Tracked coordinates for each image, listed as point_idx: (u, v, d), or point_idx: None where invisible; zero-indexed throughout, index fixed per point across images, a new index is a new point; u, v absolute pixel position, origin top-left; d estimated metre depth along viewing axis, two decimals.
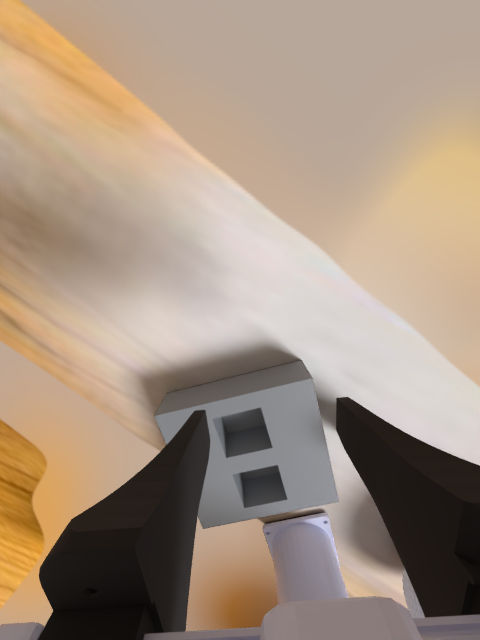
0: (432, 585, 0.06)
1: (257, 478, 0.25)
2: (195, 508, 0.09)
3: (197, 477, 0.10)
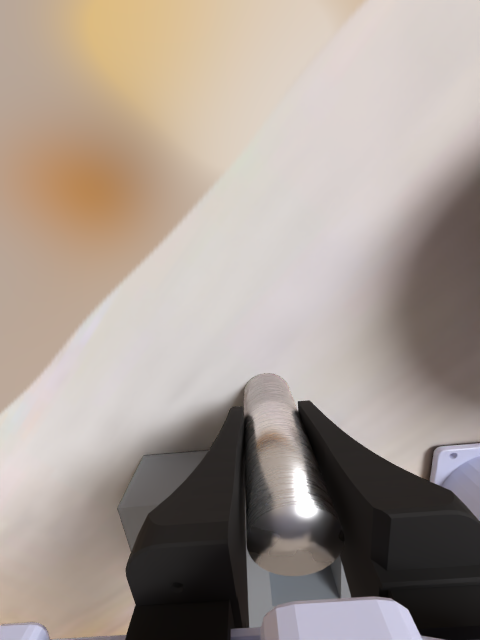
0: (360, 590, 0.07)
1: None
2: (244, 504, 0.09)
3: (243, 473, 0.10)
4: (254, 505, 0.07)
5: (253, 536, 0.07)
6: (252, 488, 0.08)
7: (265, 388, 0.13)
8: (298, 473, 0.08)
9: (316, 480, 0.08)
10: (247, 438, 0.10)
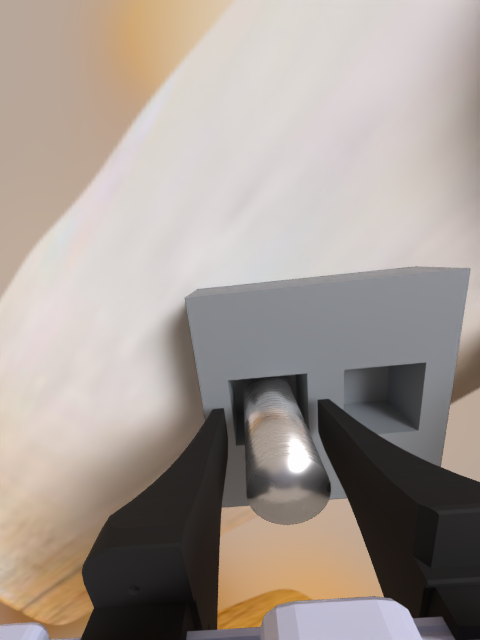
0: (397, 588, 0.06)
1: (390, 380, 0.16)
2: (219, 506, 0.09)
3: (220, 475, 0.10)
4: (255, 458, 0.08)
5: (252, 483, 0.08)
6: (253, 447, 0.09)
7: None
8: (294, 434, 0.09)
9: (309, 442, 0.09)
10: (248, 412, 0.11)
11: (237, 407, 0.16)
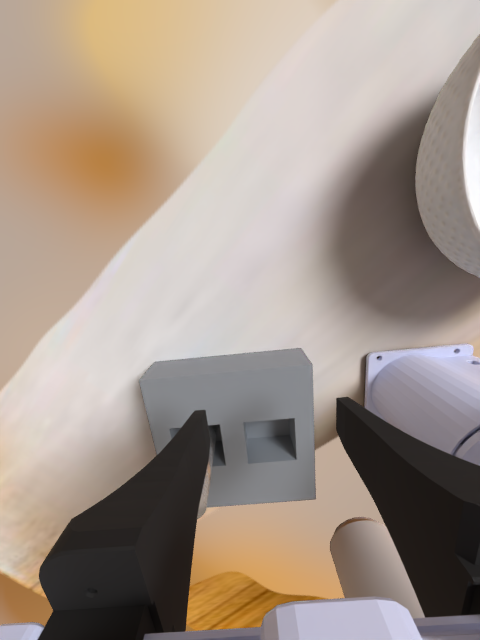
0: (432, 585, 0.06)
1: (290, 421, 0.23)
2: (195, 508, 0.09)
3: (197, 477, 0.10)
4: None
5: None
6: None
7: None
8: None
9: None
10: None
11: None
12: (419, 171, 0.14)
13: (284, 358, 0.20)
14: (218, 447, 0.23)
